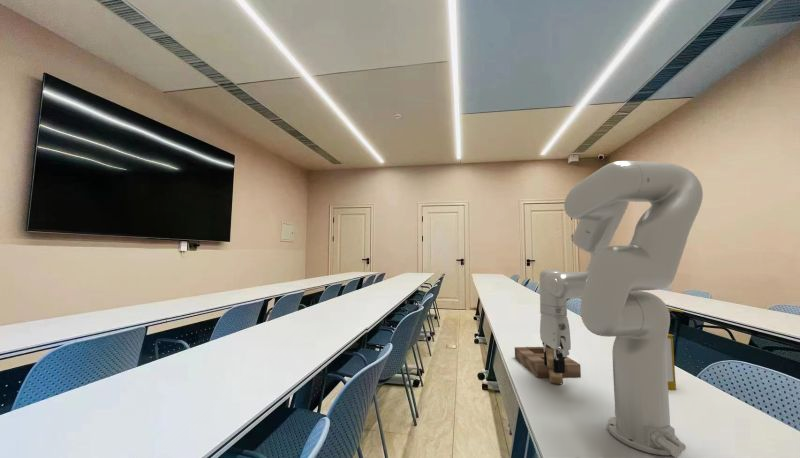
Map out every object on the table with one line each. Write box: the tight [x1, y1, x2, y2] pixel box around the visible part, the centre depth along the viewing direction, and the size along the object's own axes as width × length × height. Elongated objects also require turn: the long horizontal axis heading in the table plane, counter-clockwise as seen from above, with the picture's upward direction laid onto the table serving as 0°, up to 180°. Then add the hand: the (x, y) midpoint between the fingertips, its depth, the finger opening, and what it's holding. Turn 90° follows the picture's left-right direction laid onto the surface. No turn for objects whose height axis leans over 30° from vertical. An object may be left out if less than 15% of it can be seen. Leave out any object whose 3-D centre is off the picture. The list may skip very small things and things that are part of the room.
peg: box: [546, 347, 564, 385], centre depth 95 cm, size 4×4×10 cm
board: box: [514, 346, 582, 379], centre depth 107 cm, size 18×14×4 cm
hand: (554, 368), depth 95 cm, fingers closed on peg, 4 cm apart
